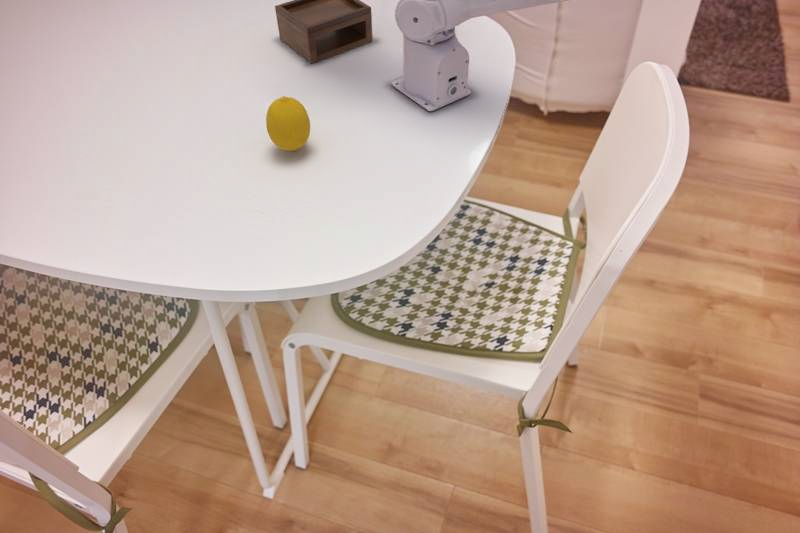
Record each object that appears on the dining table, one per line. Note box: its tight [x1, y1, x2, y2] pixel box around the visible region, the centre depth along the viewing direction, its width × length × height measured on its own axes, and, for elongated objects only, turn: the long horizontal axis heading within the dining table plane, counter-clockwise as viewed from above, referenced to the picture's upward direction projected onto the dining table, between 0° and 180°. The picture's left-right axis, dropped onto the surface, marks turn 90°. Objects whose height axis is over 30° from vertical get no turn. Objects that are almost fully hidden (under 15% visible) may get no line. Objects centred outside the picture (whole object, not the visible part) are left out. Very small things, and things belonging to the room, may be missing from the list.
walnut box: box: [274, 0, 374, 65], centre depth 100 cm, size 10×12×6 cm
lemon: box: [265, 96, 311, 152], centre depth 79 cm, size 6×6×8 cm
